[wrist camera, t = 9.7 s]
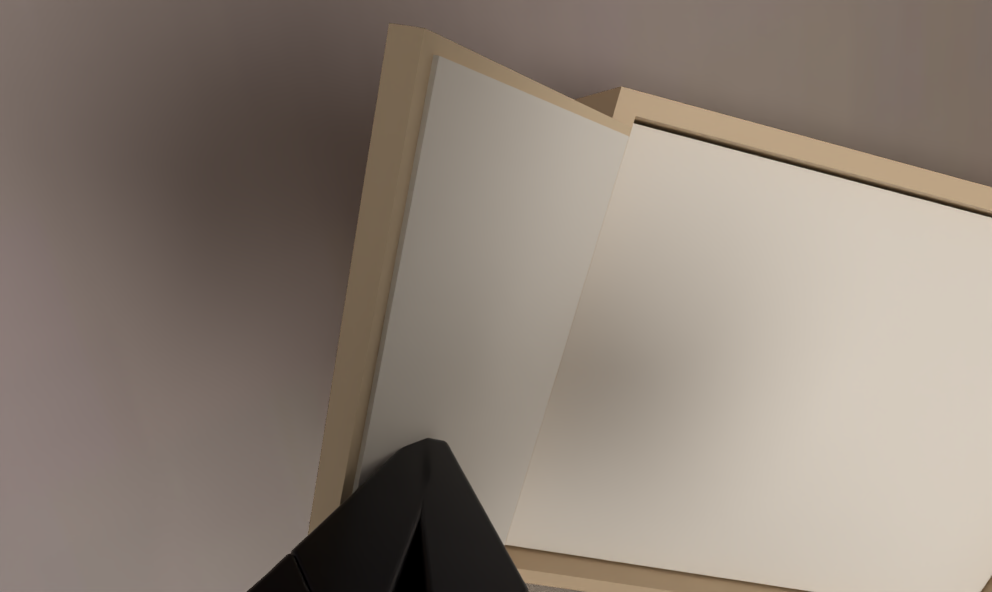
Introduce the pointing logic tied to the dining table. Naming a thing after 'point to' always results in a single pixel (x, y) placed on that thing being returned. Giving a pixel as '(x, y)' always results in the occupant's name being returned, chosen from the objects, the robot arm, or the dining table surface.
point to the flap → (463, 268)
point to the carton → (769, 373)
